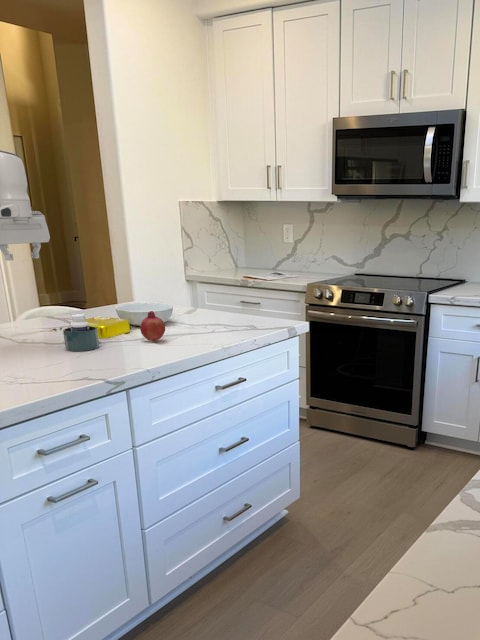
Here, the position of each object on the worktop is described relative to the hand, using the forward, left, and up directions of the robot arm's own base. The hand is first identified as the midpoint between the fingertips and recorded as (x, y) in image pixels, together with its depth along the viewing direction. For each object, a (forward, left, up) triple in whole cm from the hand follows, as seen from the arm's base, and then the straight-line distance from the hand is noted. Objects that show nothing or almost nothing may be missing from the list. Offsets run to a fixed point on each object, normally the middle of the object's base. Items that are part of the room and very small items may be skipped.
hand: (22, 259), depth 184 cm
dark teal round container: (+10, -11, -27) cm, 31 cm away
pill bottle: (+10, -11, -27) cm, 30 cm away
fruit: (+32, -17, -27) cm, 45 cm away
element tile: (+25, +6, -27) cm, 37 cm away
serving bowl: (+46, +12, -27) cm, 55 cm away
